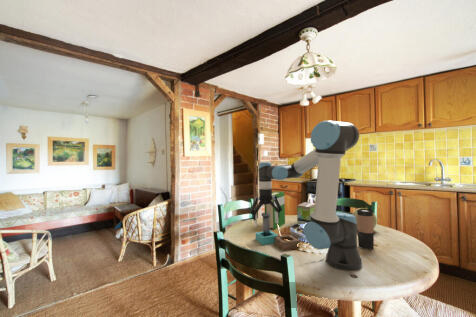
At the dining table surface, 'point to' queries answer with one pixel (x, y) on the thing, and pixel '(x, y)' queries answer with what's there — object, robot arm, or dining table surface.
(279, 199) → the hardback book
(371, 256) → the dining table surface
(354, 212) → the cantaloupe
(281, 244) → the walnut mount
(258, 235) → the teal socket
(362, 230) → the travel mug
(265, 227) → the lock pin
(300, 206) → the tea box
